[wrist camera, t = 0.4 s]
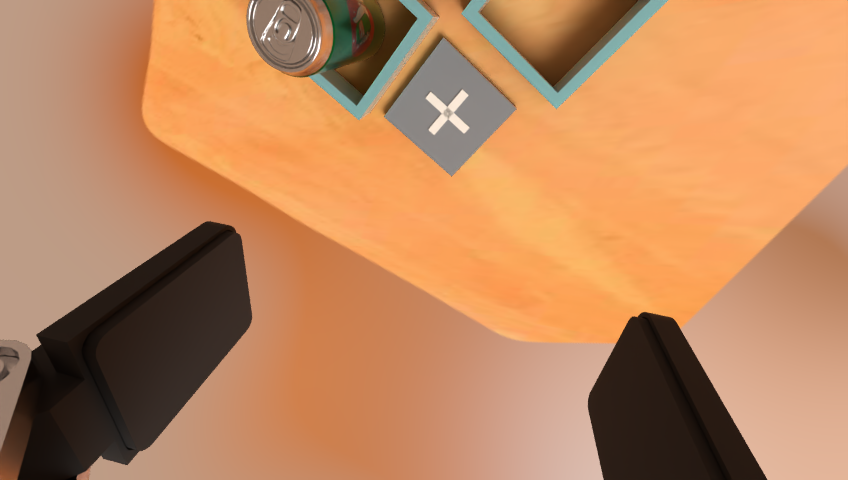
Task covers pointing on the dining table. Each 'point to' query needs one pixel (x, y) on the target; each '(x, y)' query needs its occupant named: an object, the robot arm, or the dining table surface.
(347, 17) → the soda can
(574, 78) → the dish
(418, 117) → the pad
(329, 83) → the dish
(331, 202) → the dining table surface
